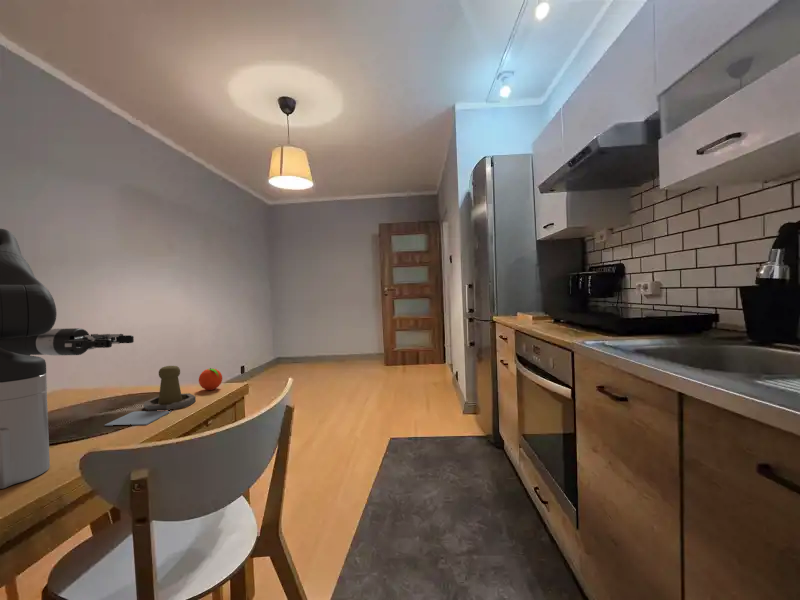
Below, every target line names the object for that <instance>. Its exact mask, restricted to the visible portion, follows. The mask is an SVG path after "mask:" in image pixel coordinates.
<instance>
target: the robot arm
mask: <svg viewBox="0 0 800 600" xmlns="http://www.w3.org/2000/svg"><path fill="white" fill-rule="evenodd" d="M56 320H57V307H56V304H55V299H54V297H53V295H52V293H51V292H50V290H49V289H48V288H47V287H46V286H45V285H44V284H43V283H42V282H41V281H39V279H37V277H36V276H35V274H34V272H33V269H32V268H31V266H30V265H29V263H28V262H27V260H26V259H25V258H24V256H23V255H22V252H21V249H20V245H19V243H18V240H17V239H16V237H15V235H14V234H13V233H12V232H11V231H9V230H7V229H5V228H0V489H1V490H3V489H6V488H8V487H10V486H13V485H16V484H19V483H22V482H26V481H29V480H31V479H34V478H36V477H38V476H40V475H42V474H44V473H45V472H47V471H48V470H49V469H50V467H51V463H50V440H49V439H50V437H49V413H48V411H49V410H48V390H47V389H48V386H47V385H48V383H47V381H48V380H47V362H46V360H45V359H44V358H43V357H41V356H42V355H44V356H46V355H47V356H81V355H83V354H85V353H86V352H87V351H89V350H95V349H102V348H103V349H109V348H111V347H112V346H113V345H115V344H118V345H120V344H133V343H134V342H135V341H134V335H124V333H117V334H115V333H114V334H111V333H102V334H98V333H91V334H90V333H89V332H88V331H87V330H86V329H84V328H80V327H79V328H75V327H74V328H54V325H55V323H56ZM37 355H38V356H37Z"/></svg>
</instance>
